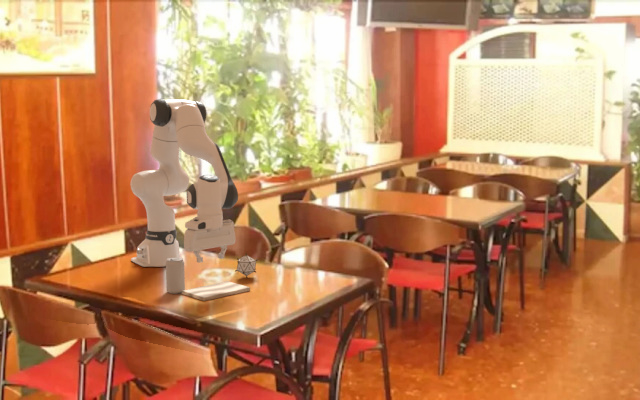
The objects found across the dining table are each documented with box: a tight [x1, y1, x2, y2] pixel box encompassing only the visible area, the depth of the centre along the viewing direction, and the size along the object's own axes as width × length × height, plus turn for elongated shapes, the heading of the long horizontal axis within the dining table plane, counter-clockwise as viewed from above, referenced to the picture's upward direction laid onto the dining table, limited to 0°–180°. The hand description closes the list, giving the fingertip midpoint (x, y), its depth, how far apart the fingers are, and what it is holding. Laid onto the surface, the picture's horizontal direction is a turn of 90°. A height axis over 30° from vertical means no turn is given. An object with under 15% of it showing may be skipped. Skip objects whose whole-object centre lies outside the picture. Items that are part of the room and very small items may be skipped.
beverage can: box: [165, 257, 186, 295], centre depth 270 cm, size 6×6×12 cm
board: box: [181, 280, 251, 302], centre depth 270 cm, size 13×20×1 cm, turn 134°
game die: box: [234, 252, 259, 279], centre depth 290 cm, size 9×8×10 cm
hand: (210, 260), depth 271 cm, fingers open, 8 cm apart
